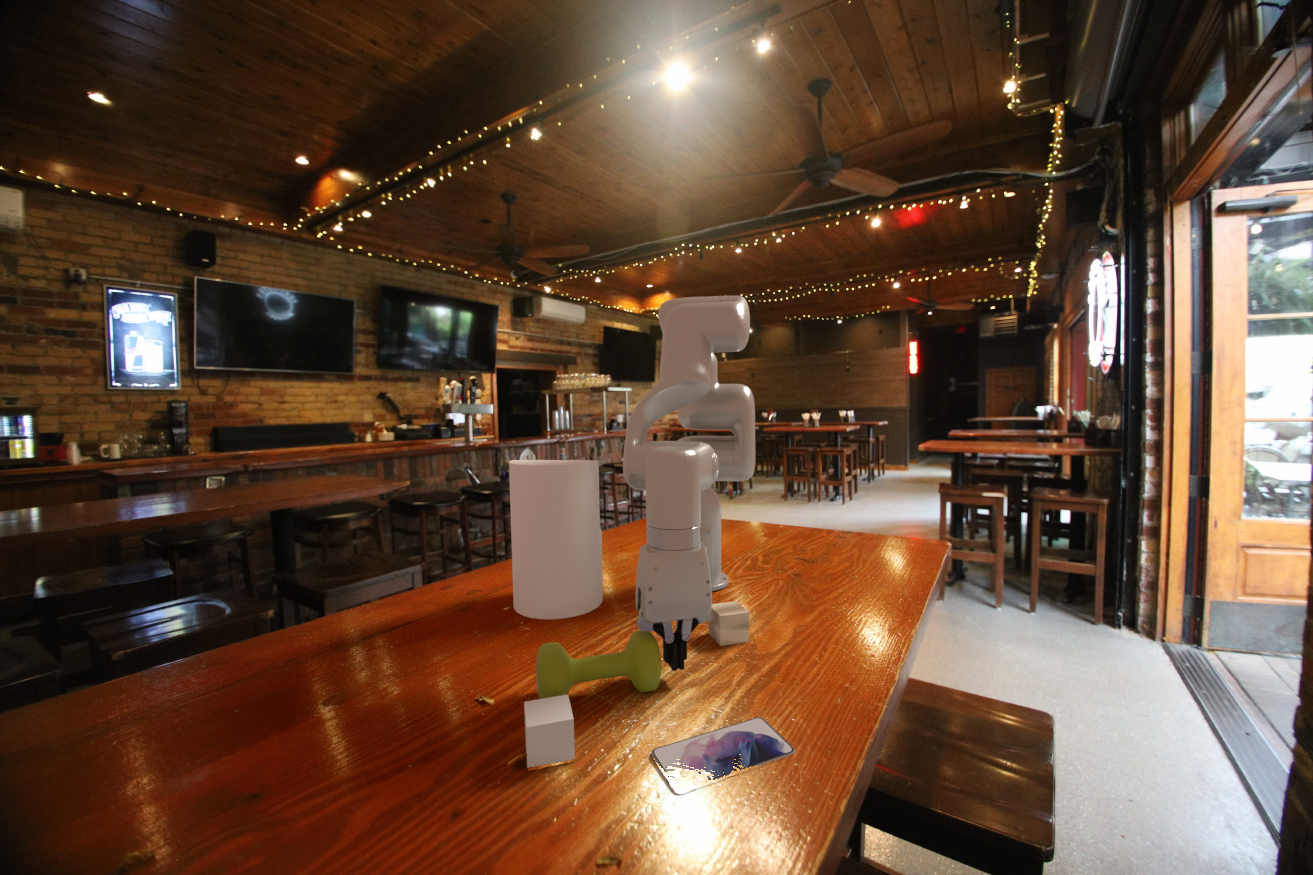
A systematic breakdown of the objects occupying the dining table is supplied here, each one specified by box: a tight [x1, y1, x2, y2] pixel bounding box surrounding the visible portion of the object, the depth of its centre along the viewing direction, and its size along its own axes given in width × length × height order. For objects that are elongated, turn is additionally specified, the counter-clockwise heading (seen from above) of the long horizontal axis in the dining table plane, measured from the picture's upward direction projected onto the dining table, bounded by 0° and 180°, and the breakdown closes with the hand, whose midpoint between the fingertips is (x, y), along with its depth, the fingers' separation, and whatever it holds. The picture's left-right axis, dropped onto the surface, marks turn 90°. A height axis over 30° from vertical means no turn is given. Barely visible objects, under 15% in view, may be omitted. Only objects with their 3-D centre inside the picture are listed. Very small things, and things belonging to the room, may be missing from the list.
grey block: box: [523, 693, 576, 769], centre depth 59 cm, size 5×5×5 cm
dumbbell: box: [535, 629, 663, 699], centre depth 70 cm, size 16×8×7 cm, turn 105°
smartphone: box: [650, 717, 796, 780], centre depth 58 cm, size 7×1×15 cm
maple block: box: [708, 600, 750, 647], centre depth 87 cm, size 5×5×5 cm
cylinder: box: [508, 459, 604, 620], centre depth 103 cm, size 17×17×28 cm
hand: (675, 665), depth 74 cm, fingers closed
